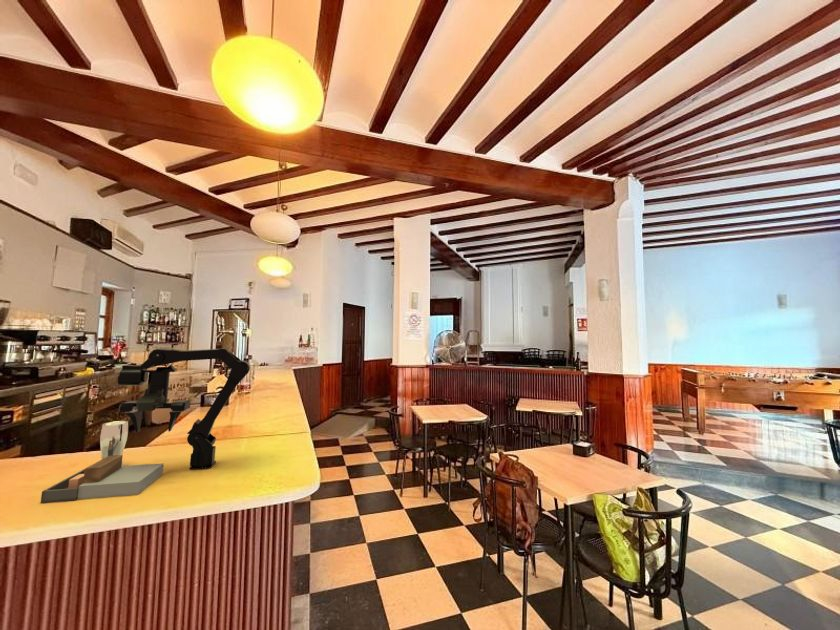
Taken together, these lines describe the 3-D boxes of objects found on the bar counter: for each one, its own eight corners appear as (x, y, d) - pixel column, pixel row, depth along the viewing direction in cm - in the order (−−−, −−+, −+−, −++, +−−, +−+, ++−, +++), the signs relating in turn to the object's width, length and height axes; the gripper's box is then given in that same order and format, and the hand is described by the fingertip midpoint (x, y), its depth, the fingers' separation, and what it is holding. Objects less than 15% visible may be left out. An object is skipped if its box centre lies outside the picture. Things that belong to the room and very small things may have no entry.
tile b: (88, 473, 97) (79, 474, 97) (78, 479, 93) (69, 479, 93) (86, 487, 97) (77, 488, 96) (76, 493, 93) (67, 494, 93)
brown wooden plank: (121, 467, 105) (122, 454, 105) (98, 482, 94) (99, 467, 95) (107, 468, 104) (109, 455, 104) (83, 483, 93) (84, 468, 94)
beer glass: (107, 472, 109) (112, 426, 111) (91, 470, 111) (96, 424, 112) (129, 465, 116) (134, 421, 117) (114, 463, 118) (118, 420, 119)
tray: (112, 476, 106) (113, 467, 106) (75, 500, 91) (77, 488, 91) (83, 478, 104) (84, 469, 104) (40, 503, 89) (41, 491, 89)
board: (162, 474, 109) (163, 463, 110) (137, 494, 95) (139, 481, 95) (111, 477, 106) (112, 466, 106) (77, 499, 91) (78, 486, 92)
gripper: (110, 388, 104) (105, 439, 102) (179, 388, 109) (175, 437, 107) (130, 384, 114) (126, 430, 113) (192, 383, 119) (189, 428, 118)
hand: (153, 431), depth 112 cm, fingers open, 9 cm apart
